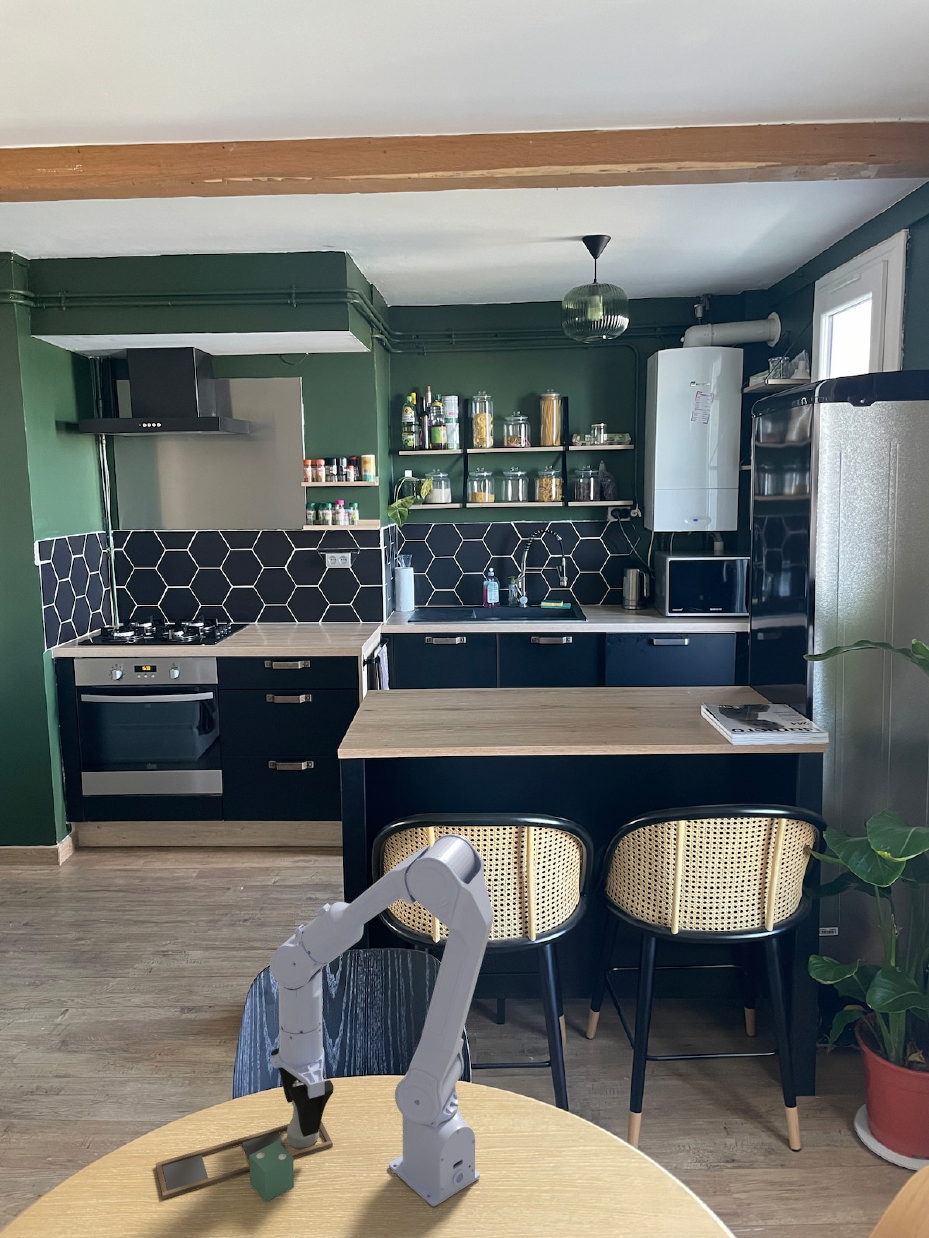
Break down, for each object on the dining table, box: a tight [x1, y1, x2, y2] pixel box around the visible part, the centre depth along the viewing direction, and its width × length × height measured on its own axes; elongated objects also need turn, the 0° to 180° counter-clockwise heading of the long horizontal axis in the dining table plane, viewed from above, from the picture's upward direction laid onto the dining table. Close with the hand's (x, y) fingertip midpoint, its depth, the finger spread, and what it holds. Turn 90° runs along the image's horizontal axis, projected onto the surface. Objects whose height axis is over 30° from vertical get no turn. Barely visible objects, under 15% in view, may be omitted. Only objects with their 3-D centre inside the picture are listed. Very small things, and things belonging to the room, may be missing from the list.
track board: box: [155, 1120, 334, 1200], centre depth 122 cm, size 22×6×1 cm, turn 116°
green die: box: [249, 1141, 295, 1203], centre depth 116 cm, size 4×4×4 cm
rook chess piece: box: [285, 1080, 320, 1150], centre depth 124 cm, size 4×4×8 cm
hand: (302, 1115), depth 125 cm, fingers open, 7 cm apart
